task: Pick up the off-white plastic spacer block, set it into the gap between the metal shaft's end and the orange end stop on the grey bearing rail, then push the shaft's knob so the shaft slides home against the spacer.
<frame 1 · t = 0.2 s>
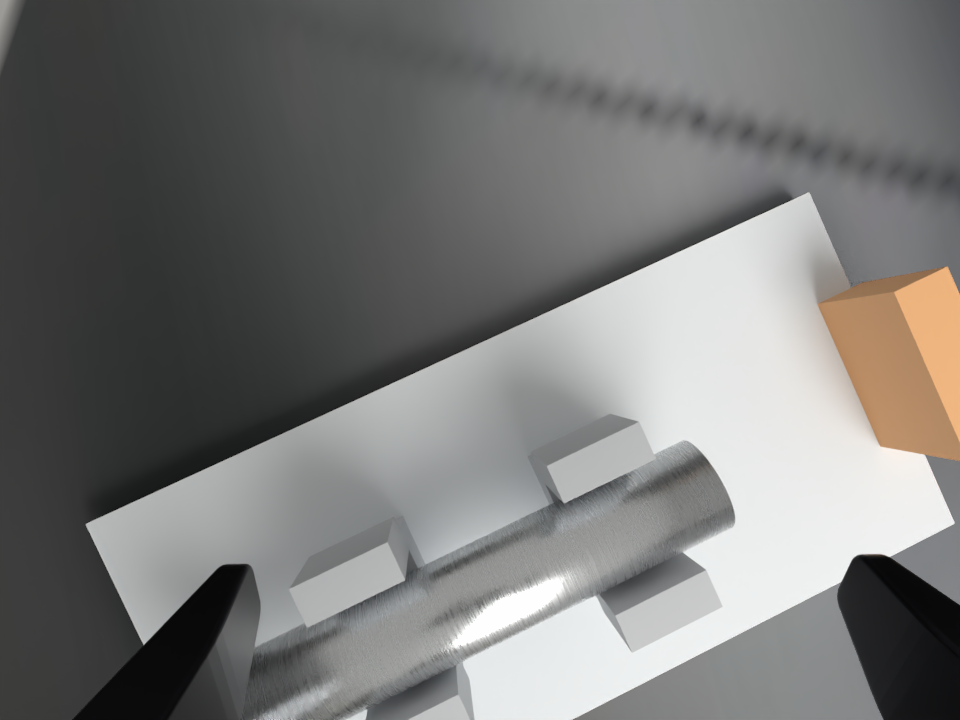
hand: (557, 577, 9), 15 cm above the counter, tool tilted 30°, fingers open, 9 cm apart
shaft: (460, 603, 19), point 5 cm above the counter, slide at 0.0 cm
bearing rail: (538, 517, 24), on the counter
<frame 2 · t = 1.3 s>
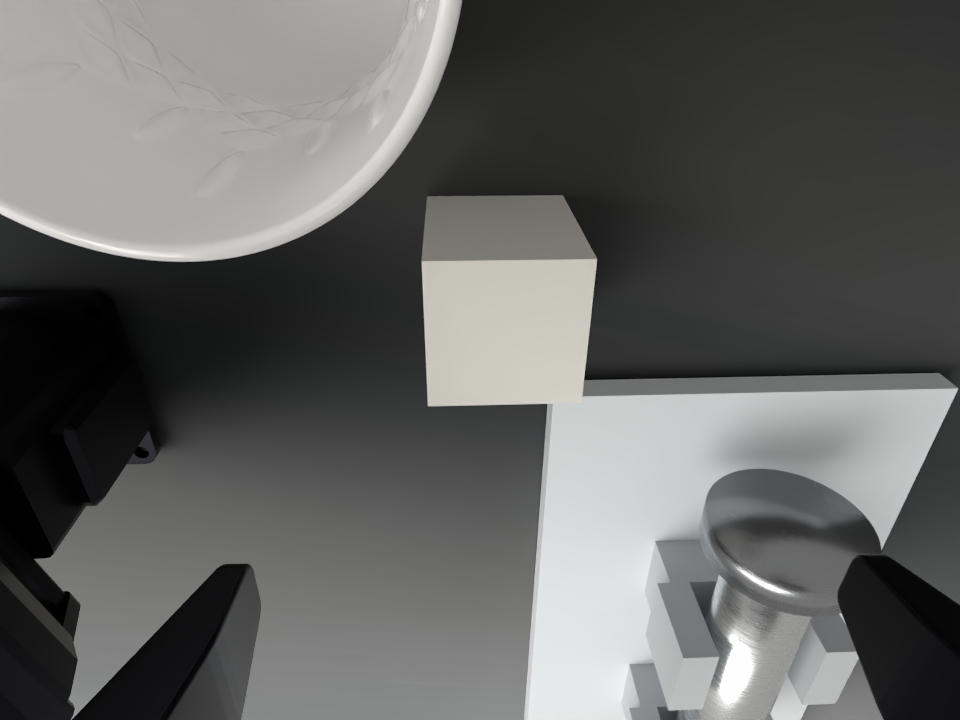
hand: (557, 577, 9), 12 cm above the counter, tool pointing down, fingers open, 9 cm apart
shaft: (731, 685, 24), point 5 cm above the counter, slide at 0.0 cm
spacer: (493, 259, 20), on the counter
bearing rail: (677, 636, 30), on the counter
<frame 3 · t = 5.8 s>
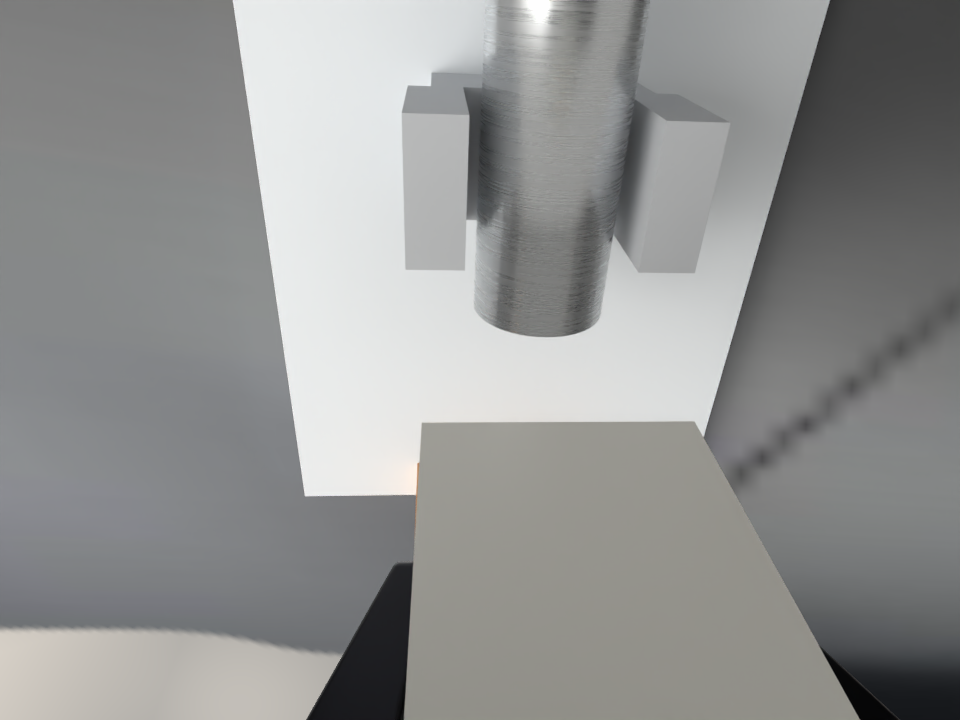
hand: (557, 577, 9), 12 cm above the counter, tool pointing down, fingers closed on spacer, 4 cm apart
spacer: (548, 521, 10), point 11 cm above the counter, touching gripper
bearing rail: (529, 49, 16), on the counter
when the fingers open (4 cm above the counter, at t = 8.1 s): spacer drops 2 cm, resting on bearing rail.
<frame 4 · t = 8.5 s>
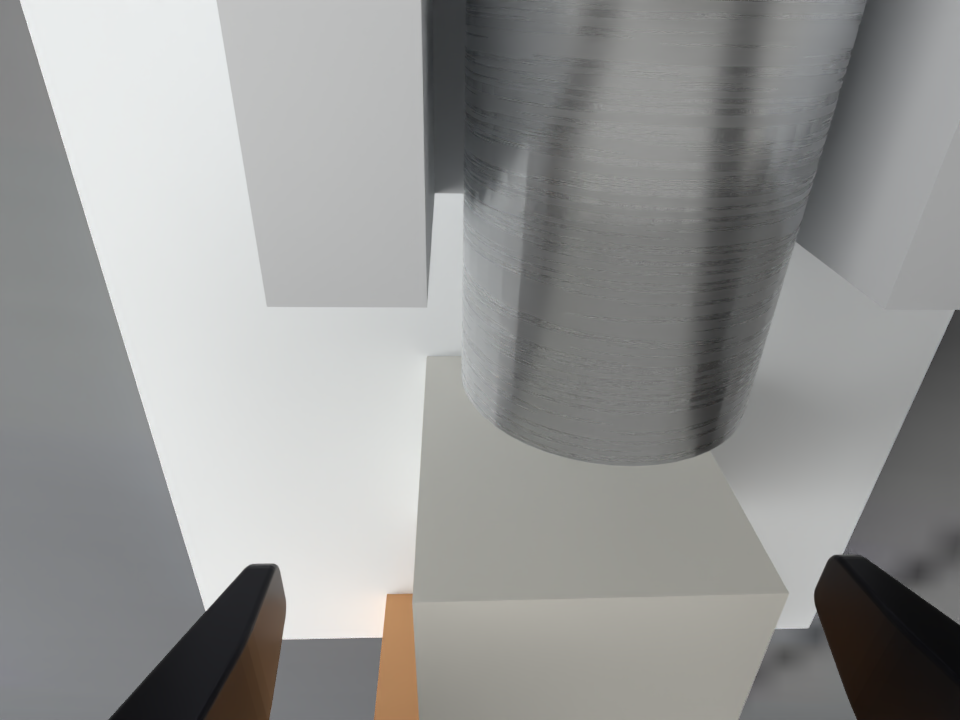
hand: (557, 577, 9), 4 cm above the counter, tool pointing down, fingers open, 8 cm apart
spacer: (535, 446, 12), point 1 cm above the counter, touching bearing rail
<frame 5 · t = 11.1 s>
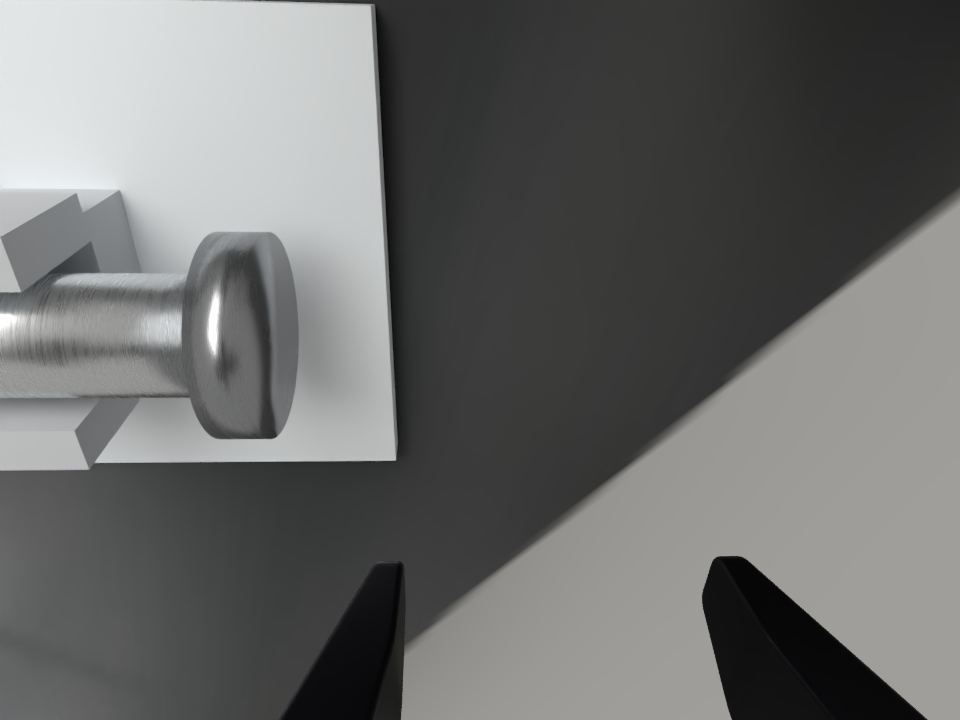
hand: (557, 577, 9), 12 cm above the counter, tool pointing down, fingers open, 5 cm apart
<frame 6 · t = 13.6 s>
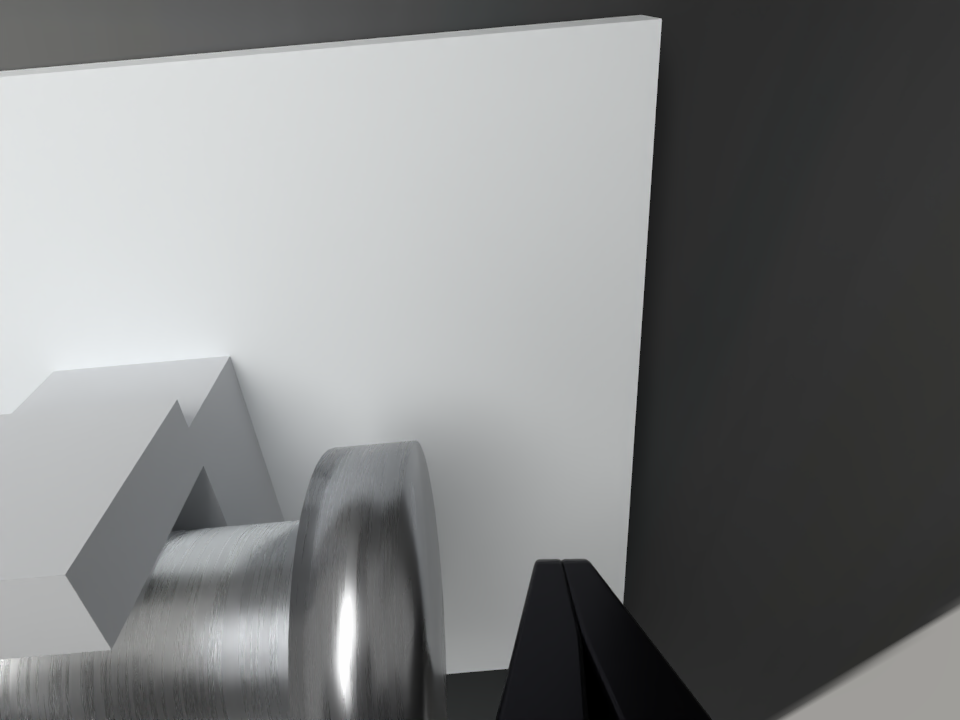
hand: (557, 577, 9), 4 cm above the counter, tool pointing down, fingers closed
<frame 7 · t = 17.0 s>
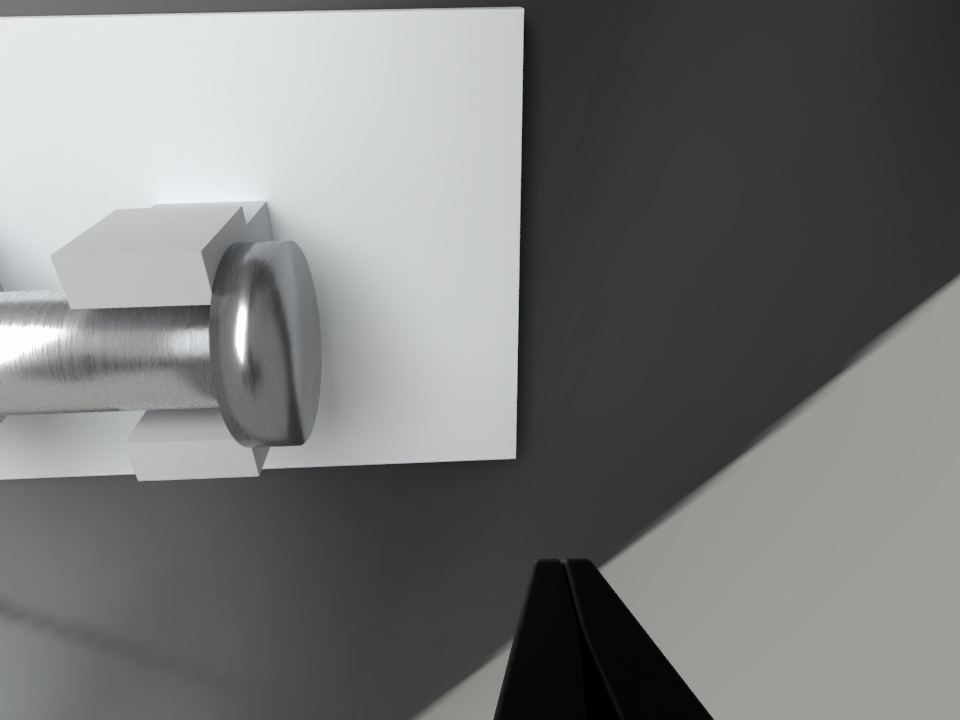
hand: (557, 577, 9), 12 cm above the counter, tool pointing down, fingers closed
bearing rail: (41, 278, 19), on the counter
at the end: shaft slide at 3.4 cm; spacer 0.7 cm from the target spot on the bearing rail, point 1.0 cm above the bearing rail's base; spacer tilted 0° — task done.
